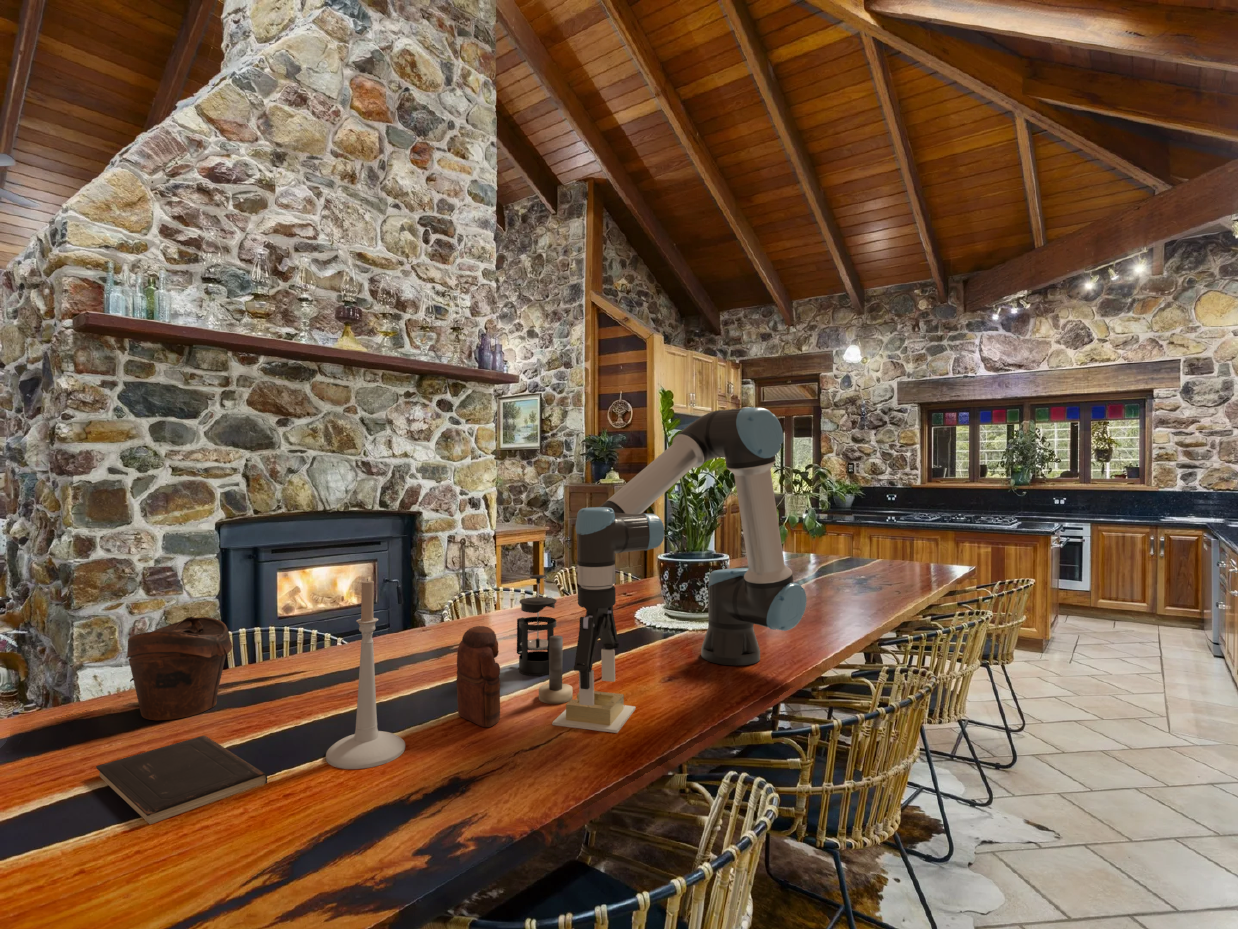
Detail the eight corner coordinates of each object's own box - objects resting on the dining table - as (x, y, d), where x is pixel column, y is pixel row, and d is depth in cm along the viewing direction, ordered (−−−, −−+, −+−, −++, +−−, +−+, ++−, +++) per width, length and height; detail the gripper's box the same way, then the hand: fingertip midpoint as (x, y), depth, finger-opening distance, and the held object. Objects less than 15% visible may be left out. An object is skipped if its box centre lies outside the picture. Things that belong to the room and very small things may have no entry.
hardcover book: (147, 830, 91) (147, 813, 91) (96, 780, 106) (96, 766, 106) (267, 786, 104) (267, 771, 104) (207, 747, 118) (207, 734, 118)
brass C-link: (623, 709, 135) (623, 694, 135) (610, 725, 127) (610, 709, 127) (581, 704, 138) (581, 689, 138) (565, 720, 129) (566, 704, 129)
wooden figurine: (510, 721, 130) (511, 629, 130) (483, 731, 125) (484, 634, 125) (476, 706, 138) (477, 618, 138) (449, 714, 133) (449, 624, 133)
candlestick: (358, 776, 106) (359, 588, 107) (309, 757, 113) (311, 580, 113) (420, 747, 117) (422, 577, 117) (373, 731, 124) (374, 570, 124)
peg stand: (577, 694, 145) (577, 634, 145) (565, 705, 138) (565, 642, 138) (546, 690, 147) (547, 631, 147) (533, 701, 140) (533, 640, 140)
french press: (566, 669, 163) (567, 575, 163) (539, 679, 155) (540, 580, 155) (532, 660, 170) (533, 570, 170) (505, 669, 162) (505, 575, 162)
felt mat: (635, 709, 137) (635, 706, 137) (617, 733, 124) (617, 730, 124) (575, 702, 140) (575, 699, 140) (552, 724, 128) (552, 722, 128)
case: (217, 685, 149) (216, 605, 148) (244, 710, 134) (243, 621, 134) (118, 707, 136) (117, 619, 136) (136, 736, 122) (135, 639, 122)
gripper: (598, 573, 145) (599, 670, 146) (555, 598, 122) (557, 713, 122) (631, 575, 143) (633, 673, 144) (594, 600, 119) (596, 717, 120)
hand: (598, 692), depth 133 cm, fingers open, 13 cm apart
